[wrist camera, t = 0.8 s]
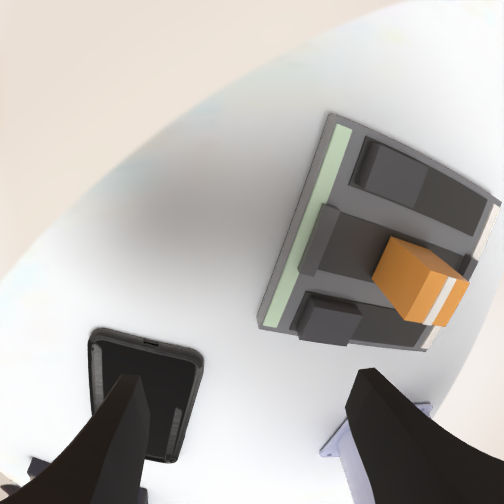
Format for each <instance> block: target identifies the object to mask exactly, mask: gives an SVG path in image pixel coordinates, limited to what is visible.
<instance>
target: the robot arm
mask: <svg viewBox="0 0 504 504" xmlns="http://www.w3.org/2000/svg"><path fill="white" fill-rule="evenodd" d="M432 408H433V407H432V405H431V404H418V405H414V404H413V403H412V402H411V401H410V400H408V399H407V398H406V397H405V396H404V395H403V394H402V393H401V392H400V391H399V390H398V389H397V388H396V387H395V386H394V385H392V384H391V383H390V382H389V381H388V380H387V379H386V378H385V377H384V376H383V375H382V374H381V373H380V372H379V371H378V370H377V369H375V368H368V369H360V370H359V371H358V373H357V376H356V379H355V382H354V384H353V387H352V390H351V393H350V395H349V398H348V400H347V403H346V406H345V410H346V414H347V420H346V421H345V423H344V424H343V425H342V426H341V428H340V429H339V430H338V431H337V433H336V434H335V435H334V436H333V437H332V439H331V440H330V441H329V442H328V443H327V445H326V446H325V447H324V448H323V449H322V450H321V452H320V453H319V454H320V457H340V459H341V462H342V465H343V469H344V472H345V475H346V478H347V482H348V485H349V488H350V491H351V495H352V498H353V501H354V504H504V461H502V460H500V459H497V458H495V457H492V456H490V455H488V454H486V453H483V452H481V451H479V450H478V449H476V448H474V447H472V446H470V445H468V444H467V443H465V442H463V441H461V440H460V439H458V438H457V437H455V436H454V435H452V434H451V433H449V432H448V431H446V430H445V429H444V428H442V427H441V426H439V425H438V424H437V423H436V422H434V421H433V420H432V419H431V417H430V415H429V414H428V413H429V412H430V411H431V409H432ZM149 424H150V411H149V407H148V404H147V400H146V396H145V392H144V388H143V384H142V380H141V376H140V375H130V374H122V375H121V376H120V377H119V378H118V380H117V381H116V383H115V384H114V386H113V387H112V389H111V390H110V392H109V393H108V395H107V396H106V398H105V399H104V401H103V402H102V403H101V405H100V406H99V408H98V409H97V410H96V412H95V413H94V414H93V416H92V417H91V418H90V420H89V421H88V422H87V424H86V425H85V426H84V427H83V429H82V430H81V431H80V432H79V433H78V435H77V436H76V437H75V438H74V439H73V441H72V442H71V443H70V444H69V445H68V446H67V447H66V448H65V450H64V451H63V452H62V453H61V454H60V455H59V456H58V457H57V458H56V459H55V460H54V461H53V462H52V463H51V464H50V465H48V466H47V467H46V468H45V469H44V470H43V471H42V472H41V473H39V474H38V475H37V476H36V477H35V478H34V479H32V480H31V481H30V482H28V483H27V484H26V485H24V486H23V487H21V488H20V489H19V490H17V491H16V492H14V493H13V494H12V495H10V496H8V497H7V498H6V499H4V500H2V501H0V504H137V501H138V493H139V487H140V481H141V476H142V470H143V465H144V460H145V454H146V449H147V444H148V436H149Z"/></svg>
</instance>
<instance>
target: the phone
mask: <svg viewBox="0 0 504 504" xmlns="http://www.w3.org/2000/svg"><path fill="white" fill-rule="evenodd" d="M144 341H145V342H149V343H153V344H157V345H158V346H154V345H150V344H146V343H143V342H144ZM179 349H181V350H179ZM203 371H204V359H203V357H202V355H201V354H200V353H199V352H197V351H195V350H193V349H190V348H185V347H180V346H176V345H171V344H166V343H162V342H158V341H153V340H149V339H145V338H141V337H137V336H133V335H129V334H125V333H121V332H117V331H113V330H110V329H105V328H99V329H96V330H94V331H93V333H92V334H91V336H90V338H89V340H88V372H89V388H90V401H91V411H92V416H93V414H94V413H95V412H96V410H97V409H98V408H99V406H100V405H101V403H102V402H103V401H104V399H105V398H106V396H107V395H108V393H109V392H110V390H111V389H112V387H113V386H114V384H115V383H116V381H117V380H118V378H119V377H120V376H121V375H122V374H130V375H140V376H141V380H142V384H143V388H144V392H145V396H146V400H147V404H148V407H149V411H150V424H149V436H148V444H147V449H146V454H145V459H146V460H151V461H156V462H161V463H175V462H176V461H177V460H178V456H179V453H180V449H181V447H182V444H183V440H184V438H185V433H186V429H187V426H188V422H189V419H190V416H191V412H192V409H193V406H194V402H195V399H196V396H197V392H198V389H199V386H200V382H201V379H202V376H203Z"/></svg>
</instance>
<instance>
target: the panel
mask: <svg viewBox="0 0 504 504" xmlns="http://www.w3.org/2000/svg"><path fill="white" fill-rule="evenodd" d="M501 203H502V202H501V201H499V200H498V199H496V198H495V197H493V196H492V195H490V194H489V193H487V192H486V191H484V190H483V189H481V188H480V187H478V186H476V185H475V184H473V183H472V182H470V181H468V180H467V179H465V178H463V177H462V176H460V175H458V174H457V173H455V172H453V171H451V170H450V169H448V168H446V167H444V166H443V165H441V164H439V163H437V162H435V161H434V160H432V159H430V158H428V157H426V156H424V155H423V154H421V153H419V152H417V151H415V150H413V149H411V148H409V147H407V146H405V145H403V144H401V143H399V142H397V141H395V140H393V139H391V138H389V137H386V136H384V135H382V134H380V133H378V132H376V131H373V130H371V129H369V128H367V127H365V126H362V125H360V124H358V123H355V122H353V121H351V120H348V119H346V118H343V117H341V116H338V115H329V116H328V119H327V122H326V125H325V128H324V131H323V133H322V136H321V139H320V142H319V145H318V148H317V151H316V154H315V157H314V160H313V163H312V166H311V169H310V171H309V174H308V177H307V180H306V183H305V186H304V189H303V191H302V194H301V197H300V200H299V203H298V206H297V208H296V211H295V214H294V217H293V220H292V222H291V225H290V228H289V231H288V233H287V236H286V239H285V242H284V245H283V247H282V250H281V253H280V255H279V258H278V261H277V264H276V266H275V269H274V272H273V274H272V277H271V280H270V283H269V285H268V288H267V291H266V293H265V296H264V299H263V301H262V304H261V307H260V309H259V312H258V314H257V322H258V327H259V329H262V330H268V331H273V332H279V333H285V334H291V335H297V336H298V337H299V340H305V341H311V342H318V343H325V344H332V345H339V346H347V344H348V343H351V344H358V345H366V346H374V347H383V348H392V349H401V350H411V351H422V352H426V350H427V349H429V347H430V346H431V344H432V343H433V341H434V339H435V338H436V336H437V335H438V333H439V331H440V330H441V328H442V326H436V325H431V326H429V325H423V324H422V323H418V322H412V321H406V320H404V319H403V318H402V317H401V315H400V314H399V313H398V312H397V310H396V309H395V308H394V306H393V305H392V304H391V303H390V301H389V300H388V299H387V297H386V296H385V295H384V294H383V292H382V291H381V290H380V289H379V287H378V286H377V285H376V284H375V282H374V281H373V280H372V279H371V278H372V276H373V274H374V272H375V270H376V268H377V266H378V264H379V261H380V259H381V257H382V255H383V253H384V250H385V248H386V246H387V244H388V241H389V239H390V237H391V236H392V237H395V238H398V239H401V240H404V241H407V242H409V243H412V244H415V245H418V246H421V247H424V248H426V249H429V250H431V251H432V252H433V253H434V254H436V255H437V256H438V257H439V258H441V259H442V260H443V261H444V262H446V263H447V264H448V265H449V266H450V267H452V268H453V269H454V270H455V271H456V272H458V273H459V274H460V275H461V276H462V277H463V278H465V279H466V280H467V281H469V279H470V277H471V275H472V273H473V271H474V269H475V267H476V265H477V263H478V260H479V258H480V255H481V253H482V251H483V249H484V247H485V244H486V242H487V240H488V238H489V235H490V233H491V231H492V228H493V226H494V223H495V221H496V218H497V216H498V213H499V211H500V206H501Z"/></svg>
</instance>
